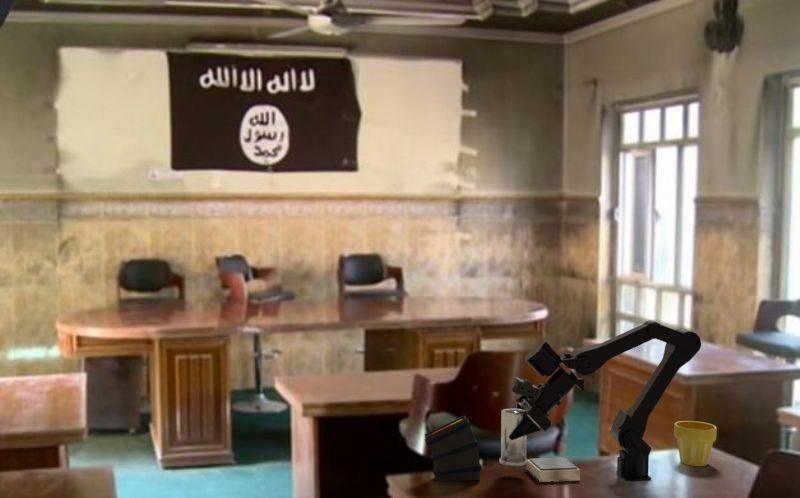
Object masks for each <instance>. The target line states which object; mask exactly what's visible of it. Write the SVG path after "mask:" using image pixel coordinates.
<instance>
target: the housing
mask: <svg viewBox="0 0 800 498" xmlns="http://www.w3.org/2000/svg"><path fill="white" fill-rule="evenodd" d="M523 411H524V412H525V413H526V411H525V410H523ZM526 414H527V413H526ZM500 417H501V419H500V421H501V422H500V423H501V424H500V425H501V426H500V428H501V431H500V432H501V433H500V442H501V443H500V446H501V447H500V457H499V459H498V460H499V465H502V466H504V467H505V466H506V467H513V468H514V467H517V468H518V467H524V466H527V464H528V460H529V459H528V458H527V435H525V436H522V437H520V438H517V439H514V440H511V439H510V438H509V435H510V434H511V433H512V431H513V430H514V428H515V427H516V426H517V424H518V423H519V422H520V421H521V419H522V409H516V408H504V409H502V410H501V416H500Z"/></svg>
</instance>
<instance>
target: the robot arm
mask: <svg viewBox="0 0 800 498" xmlns="http://www.w3.org/2000/svg"><path fill="white" fill-rule="evenodd" d="M654 339H655V340H658V341H660V342H664V343H665V345H664V346H665V347H664V351H663V355H662V356H663V357H662V359H661V360H660V362H659V363H658V364H657V366H656V368H655V370H654V371H653V373H652V374H651V376H650V377H649V380H648V381H647V383H646V384H645V385H644V387H643V389H642V390H641V392H640V393H639V395H638V397H637V398H636V399H635V402H634V403H633V405H632V406H631V407H630V408H628V409H627V410H626V411H624V410H623V409H622V408H621V409H619V410H618V412H617V415H616V416H615V418H614V419H613V420H612V421H611V424H612V426H611V429H610V432H611V435H612V438H613V439H614V440H615V441H616V442H617V443H618V444H619V447H620V448H621V449H619V453H618V454H619V456H617V459H616V460H617V463H616V472H615V473H616V475H618V476H620V477H621V478H622V479H623V480H625V481H626V482H627V481H628V482H630V481H650V480H652V477H651V476H650V475H649V462H650V458H649V457H650V454H651V451H652V447H651V446H650V445H649V444H648V443H647V442H646V441H645V440H644V439H643V438H644V435H645V433H646V429H647V426H648V425H647V424H648V420H649V417H650V416H651V414H652V412H653V411H654V409H655V408H656V406H657V404H658V403H659V402H660V400H661V399H662V397H663V396H664V394H665V392H666V391H667V389H668V388H669V386H670V385H671V383H672V381H673V379H674V378H675V376H676V374H677V373H678V371H679V370H680V369H681V368H682V367H683V366H684V365H686V364H687V363H688V362H690V361H691V360H693V358H694V357H695V356H696V354H697V353H698V352H699V351H700V349H701V348H702V340H701V338H700V336H699V335H698V334H697V333H696V332H694V331H691V330H689V329H686V328H684V327H683V328H676V329H673V328H670V327H668V326H665V325H663V324H661V323H659V322H657V321H655V320H652V319H651V320H646V321H645V322H643V323H642V324H640V325H637V326H635V327H633V328H631V329H629V330H626V331H624V332H622V333H620V334H619V335H616V336H613V337H612V338H610V339H608V340H605V341H603V342H600V343H595V344H589V345H586V346H581V347H577V348H575V349H573V350H572V351H571V352H570V353H569V352H568V353H561V354H558V353H557V352H556V350H554V349H553V348H552V347H551V345H550V344H549V342H547V341H546V340H543V342H541V343H540V344H538V345H537V346H535V347H534V348H533V347H532V349H530V350H529V351H528V353H527V354H526V356H525V357H524V361H525V362H526V363H527V365H529V366H530V367H531V368H532V369H533V370H534V371H535V372H536V373H537V374H538V375H539V376H540V377H545V376H546V377H547V379H546V380H545V381H544V382H543V383H542V382H539V383H538V384H536V385H535V384H533V382H532V381H529V380H528V379H523V378H522V379H521V378H519V377H517V376H514V378H513V381H512V383H511V385H510V386H509V390H511V392H513V393H514V394H516V396H515V399H516V400H517V401H515V409H522V419H521V421H520V422H519V423H518V424H517V426H516V427H515V428H514V430H513V431H512V433H511V434H510V435H509V438H510V439H511V440H514V439H517V438H520V437H522V436H525V435H526V436H528V435H530V434H533V433H536V432H540V431H542V430H543V431H544V432H545V433H546V432H547V431H548V430H549V429H550V428H551V427H552V420H551V418H549V416H550V414H549V413H550V412H552V410H553V409H554V408H555V407H556V406H558V407H559V406H561V404H562V402H561V401H562V400H563V398H565V397H566V395H568V394H569V393H570V392H571V391H572V390H573V389H574V388H575V387H577V388H578V389H579V390H581V391H583V392H584V391H585V379H584V377H578V376H577V374H579V375H582V376H590V375H592V374H594V373H595V372H596V371H598V370H599V369H601V368H602V367H603V366H604V365H605V364H607V362H609V360H611V359H613V358H616V357H617V356H619V355H621V354H624V353H626V352H628V351H630V350H632V349H634V348H638V347H639V346H642V345H643V344H646V343H647V342H650V341H652V340H654ZM560 364H562V365H563V366H564V367H566V368H567V369H568V370H565V369H564V367H562V366H561V365H560ZM572 370H574V371H575V372H576V373H577V374H575V373H574V372H573V371H572ZM523 410H525V411H526V413H527V414H526V413H525V412H524V411H523Z"/></svg>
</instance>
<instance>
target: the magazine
mask: <svg viewBox="0 0 800 498" xmlns="http://www.w3.org/2000/svg"><path fill="white" fill-rule="evenodd" d="M471 426H472V424H471V422H470V420H469V419H468V418H467V417H466V415H462V416H460V417H458V418H456V419H454V420H452V421H449V422H447V423H446V424H445V423H444V424H443V425H441V426H439V427H437V428H434V429H433V430H431V431H429V432H426V433H425V434H424V440H425V443H426V446H427V447H429V449H430V451H431V454H430V457H431V459H432V461H433V467H432V473H433V475H434V480H435V481H436V482H458V481H459V482H463V481H465V482H467V481H468V482H471V481H472V480H479V481H480V480H481V471H483V470H482V465H481V463H480V455H479V449H478V447H479V443H478V440H477V439H476V437H475V434H474V432H473V430H472V427H471ZM472 482H473V481H472Z"/></svg>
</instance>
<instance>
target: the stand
mask: <svg viewBox="0 0 800 498" xmlns="http://www.w3.org/2000/svg"><path fill="white" fill-rule="evenodd" d="M527 470H528V471H529V472H530V473H531V474H532V475H531V474H530V473H529V472H528V471H527ZM526 471H527V472H528V473H529V474H530V475H531V476H532V477H534V476H535V477H536V478H537V479H538V480H539V481H538V480H537V479H536V478H535V477H534V478H535V479H536V480H537V481H538V482H539V483H547V482H549V483H550V482H551V481H554V482H575V481H576V482H577V481H581V469H580V468H579V467H577V466H576V465H575V464H573V463H572V462H571V461H570V460H568V459H567V458H566V457H562V456H561V457H541V458H540V457H538V458H536V457H535V458H529V459H528V464H527V465H526ZM559 480H560V481H559ZM561 480H562V481H561Z"/></svg>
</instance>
